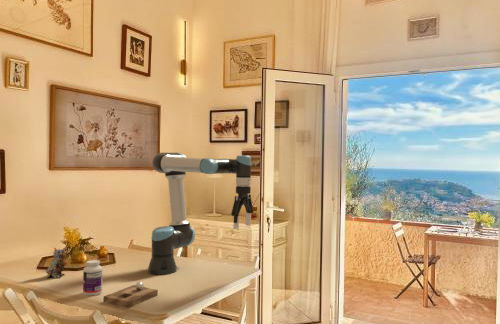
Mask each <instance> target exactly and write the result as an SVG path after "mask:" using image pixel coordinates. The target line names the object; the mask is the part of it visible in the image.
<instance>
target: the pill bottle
mask: <svg viewBox="0 0 500 324" xmlns="http://www.w3.org/2000/svg"><path fill="white" fill-rule="evenodd" d="M100 262H101V261H100V260H99V259H92V260H88V261H86V266H84V268H83V274H82V275H83V276H82V278H83V279H82V280H83V281H82V282H83V283H82V284H83V285H82V287H83V288H82V292H83V295H85V296H97V295H99V294H101V293H102V292H103V267H102V265H100V264H101V263H100Z"/></svg>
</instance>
